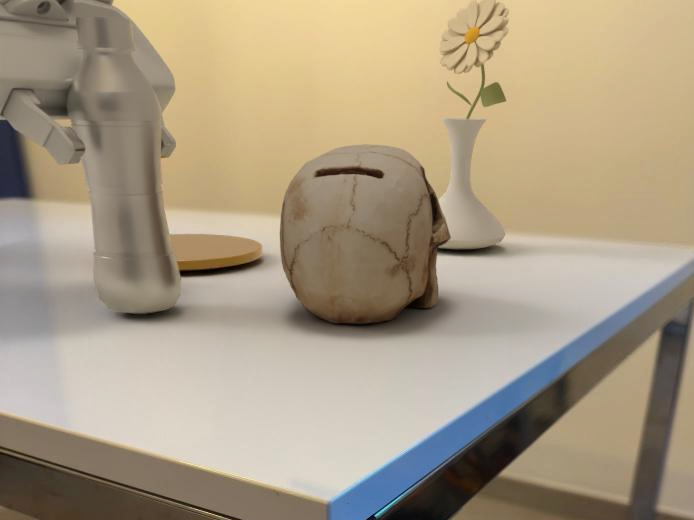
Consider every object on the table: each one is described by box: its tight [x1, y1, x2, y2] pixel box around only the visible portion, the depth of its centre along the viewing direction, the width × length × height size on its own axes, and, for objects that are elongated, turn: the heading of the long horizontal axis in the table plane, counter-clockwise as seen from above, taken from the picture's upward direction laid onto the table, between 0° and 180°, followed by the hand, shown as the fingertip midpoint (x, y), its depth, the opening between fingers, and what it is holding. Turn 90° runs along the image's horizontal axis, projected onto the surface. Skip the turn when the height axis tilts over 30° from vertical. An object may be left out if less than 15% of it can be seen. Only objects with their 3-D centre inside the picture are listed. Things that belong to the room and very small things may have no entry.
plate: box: [169, 233, 264, 273], centre depth 82 cm, size 17×17×2 cm
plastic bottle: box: [66, 17, 182, 315], centre depth 58 cm, size 6×7×20 cm
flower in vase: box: [438, 0, 510, 250], centre depth 87 cm, size 13×11×25 cm
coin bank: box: [279, 143, 451, 325], centre depth 63 cm, size 16×17×13 cm
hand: (123, 155), depth 57 cm, fingers open, 8 cm apart
